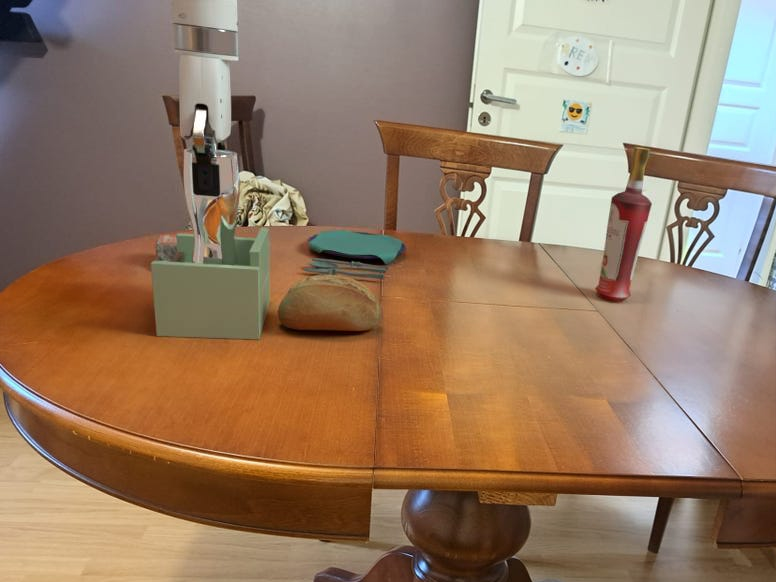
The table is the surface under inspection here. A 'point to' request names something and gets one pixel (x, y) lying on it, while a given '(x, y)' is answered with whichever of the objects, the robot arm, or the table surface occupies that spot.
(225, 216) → the beer glass
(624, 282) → the liquor
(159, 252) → the packaged product
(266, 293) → the green boxy piece
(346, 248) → the cutlery set
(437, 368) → the table surface
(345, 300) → the bread roll
